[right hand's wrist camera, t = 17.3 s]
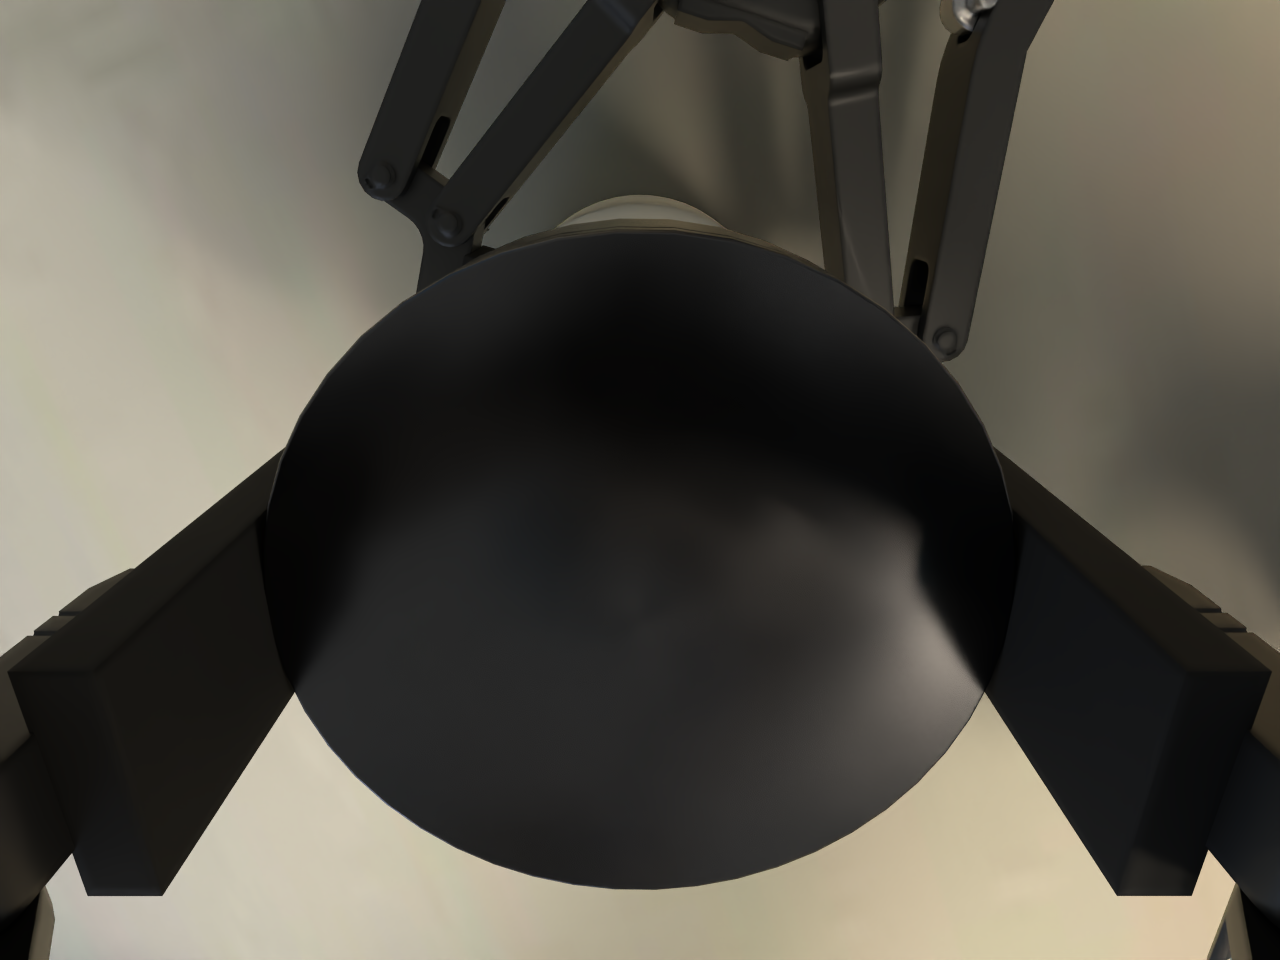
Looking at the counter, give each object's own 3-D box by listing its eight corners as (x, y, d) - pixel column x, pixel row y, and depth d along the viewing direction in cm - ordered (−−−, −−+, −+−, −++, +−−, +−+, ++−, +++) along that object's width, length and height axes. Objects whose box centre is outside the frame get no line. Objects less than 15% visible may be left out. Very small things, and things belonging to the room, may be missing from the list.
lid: (1036, 678, 13) (1097, 758, 11) (514, 868, 14) (497, 964, 13) (828, 77, 10) (869, 59, 8) (181, 407, 11) (98, 453, 9)
